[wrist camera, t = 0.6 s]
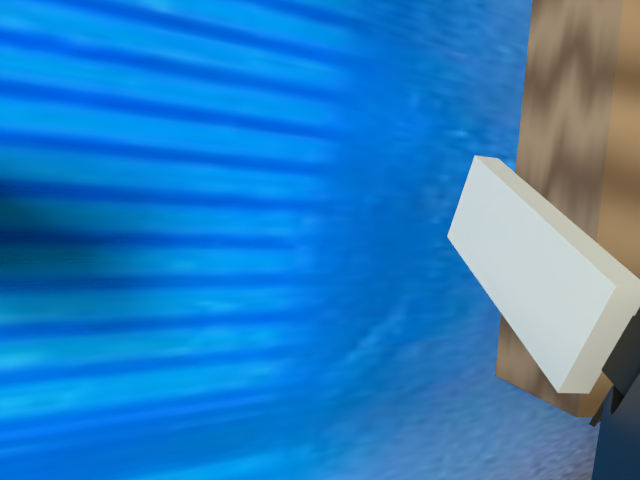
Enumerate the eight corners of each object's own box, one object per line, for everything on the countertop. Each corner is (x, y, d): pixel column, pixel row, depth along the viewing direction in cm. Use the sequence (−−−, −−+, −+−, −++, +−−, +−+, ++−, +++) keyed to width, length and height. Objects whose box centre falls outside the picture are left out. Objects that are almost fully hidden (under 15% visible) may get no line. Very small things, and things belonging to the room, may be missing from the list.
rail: (537, 373, 40) (628, 414, 33) (493, 374, 39) (577, 417, 31) (577, -3, 39) (682, -52, 31) (532, -15, 37) (630, -68, 30)
